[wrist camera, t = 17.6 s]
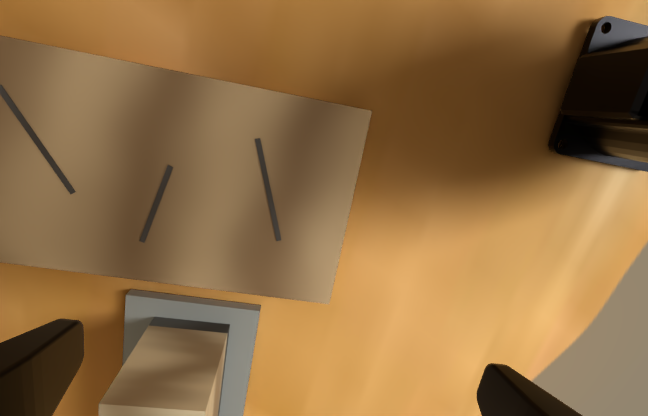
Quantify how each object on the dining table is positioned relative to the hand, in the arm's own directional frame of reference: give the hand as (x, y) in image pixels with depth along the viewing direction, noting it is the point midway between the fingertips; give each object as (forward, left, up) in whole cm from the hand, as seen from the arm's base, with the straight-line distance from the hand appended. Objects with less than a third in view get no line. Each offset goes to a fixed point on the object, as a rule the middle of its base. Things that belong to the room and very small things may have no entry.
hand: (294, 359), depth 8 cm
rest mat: (+4, +10, -11) cm, 16 cm away
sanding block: (+4, +10, -11) cm, 16 cm away
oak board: (+6, -1, -11) cm, 13 cm away
